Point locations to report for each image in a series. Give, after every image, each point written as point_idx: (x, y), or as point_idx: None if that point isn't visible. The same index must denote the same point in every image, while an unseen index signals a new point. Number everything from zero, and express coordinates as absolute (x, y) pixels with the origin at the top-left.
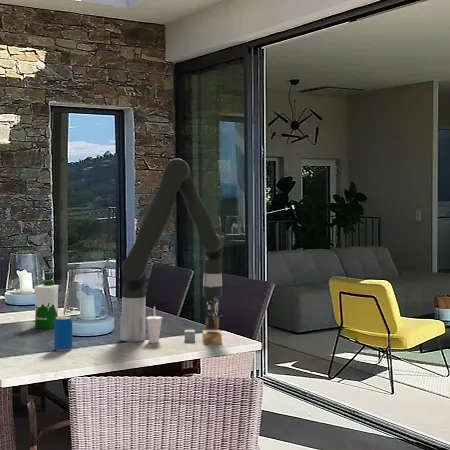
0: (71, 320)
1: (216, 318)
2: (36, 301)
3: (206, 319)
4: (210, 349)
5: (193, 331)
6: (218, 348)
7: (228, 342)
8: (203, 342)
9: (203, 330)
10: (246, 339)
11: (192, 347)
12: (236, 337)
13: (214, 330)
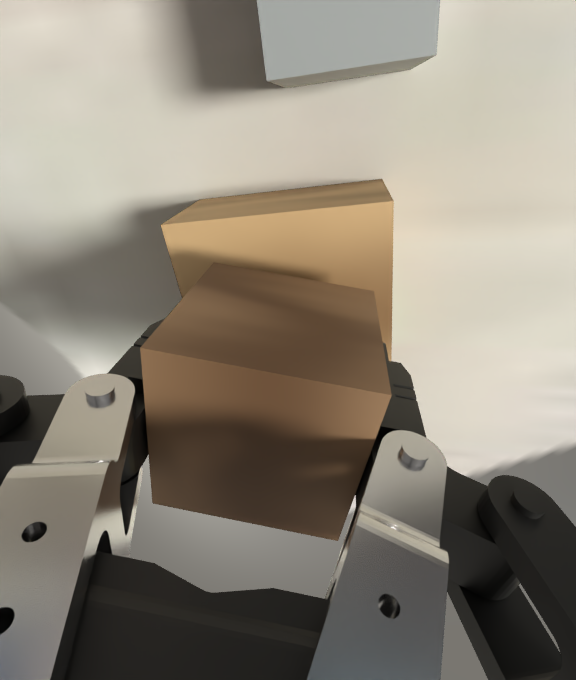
0: None
1: (153, 496)
2: None
3: (155, 345)
4: (12, 266)
5: (284, 47)
6: (69, 324)
7: None
8: (216, 199)
9: (387, 213)
10: None
11: (6, 84)
12: (455, 454)
13: (386, 345)
